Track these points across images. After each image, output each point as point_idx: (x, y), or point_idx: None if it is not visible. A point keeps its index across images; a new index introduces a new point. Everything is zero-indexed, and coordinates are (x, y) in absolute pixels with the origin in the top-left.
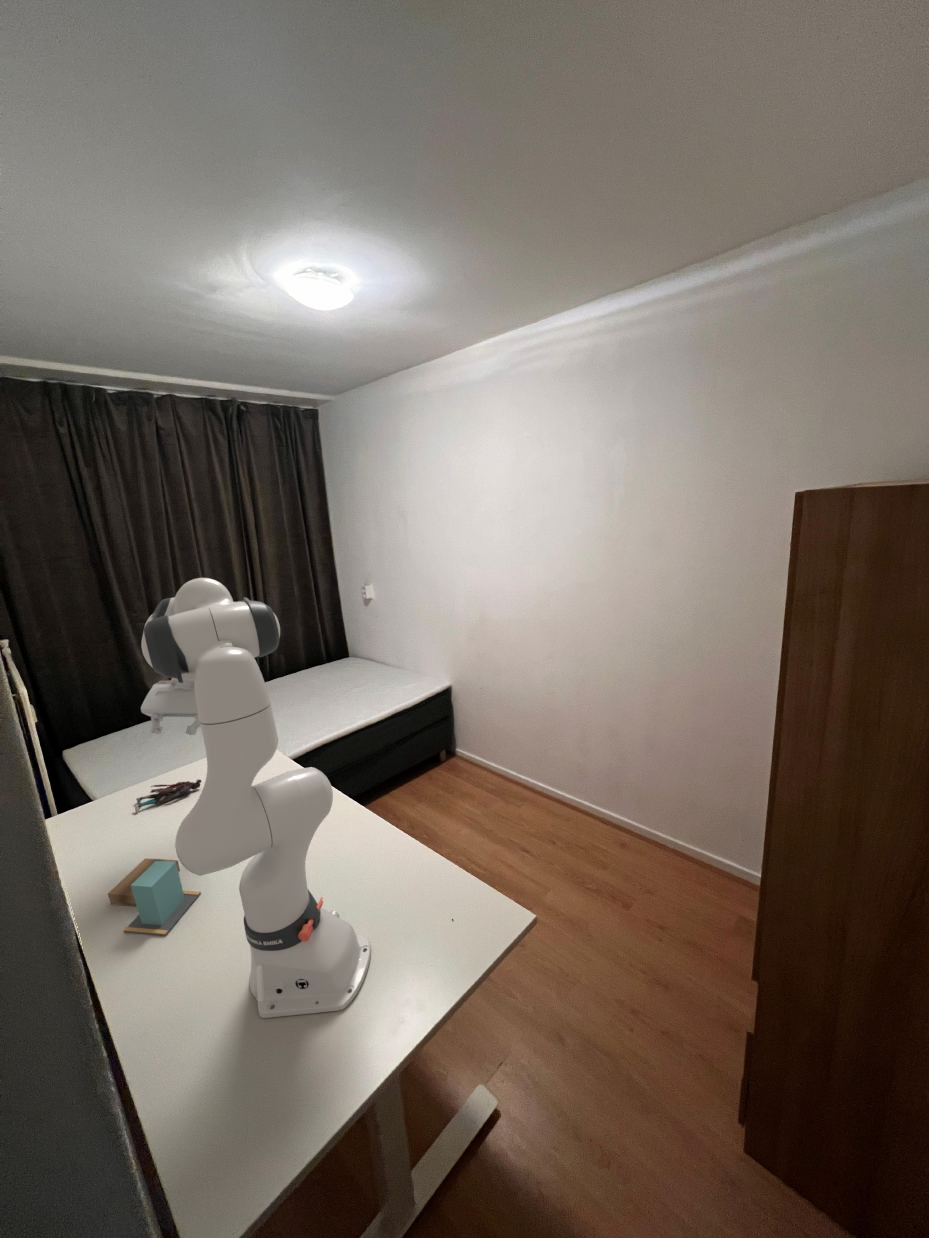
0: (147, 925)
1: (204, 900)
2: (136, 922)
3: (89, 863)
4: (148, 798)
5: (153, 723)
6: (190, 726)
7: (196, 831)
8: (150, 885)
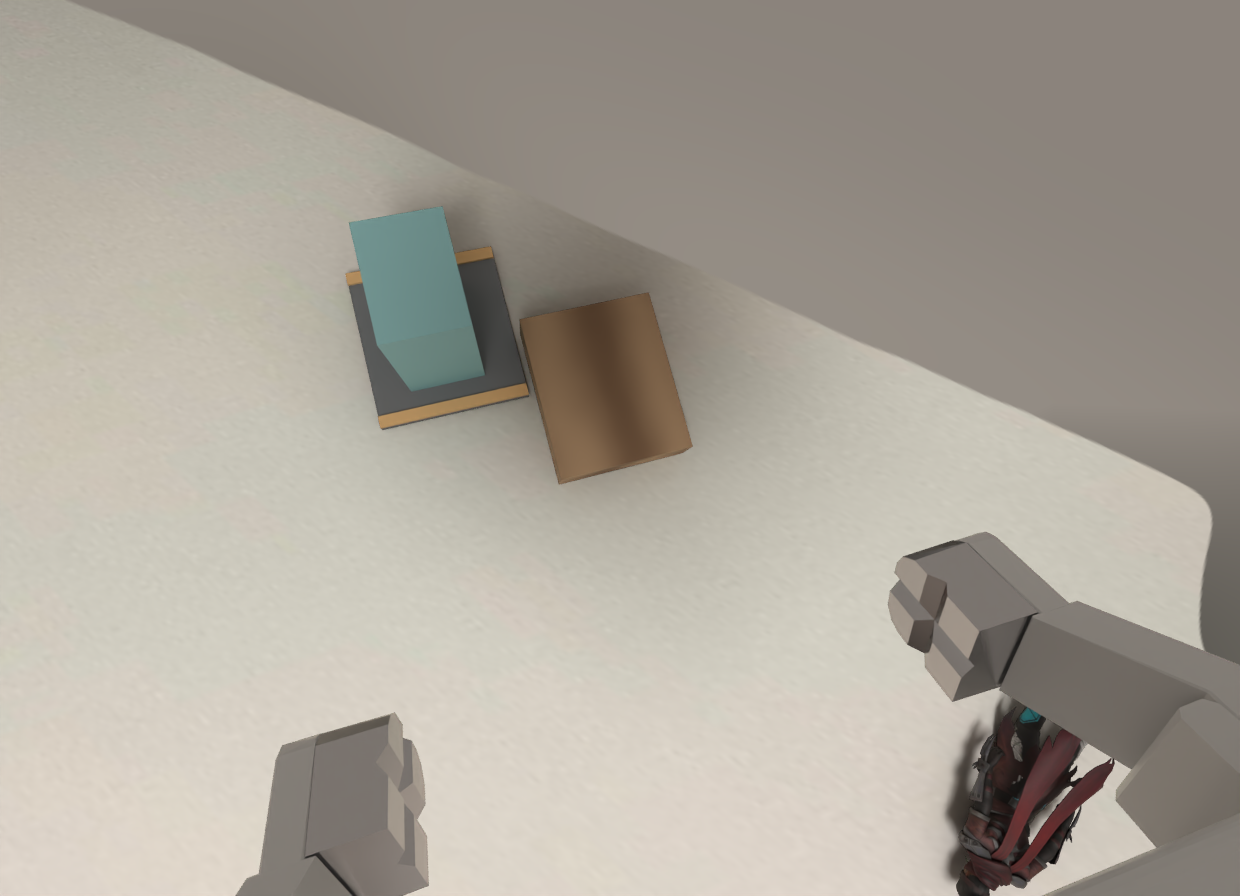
0: None
1: (346, 414)
2: (481, 278)
3: (899, 403)
4: None
5: (1087, 622)
6: (314, 834)
7: None
8: (361, 227)
